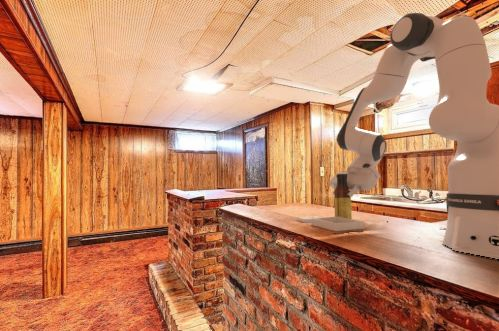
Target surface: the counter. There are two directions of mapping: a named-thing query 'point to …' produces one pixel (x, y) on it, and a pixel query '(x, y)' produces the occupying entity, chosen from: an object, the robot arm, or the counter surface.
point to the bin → (338, 224)
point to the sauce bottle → (342, 198)
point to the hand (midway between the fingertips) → (341, 195)
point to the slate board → (300, 221)
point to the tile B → (304, 219)
